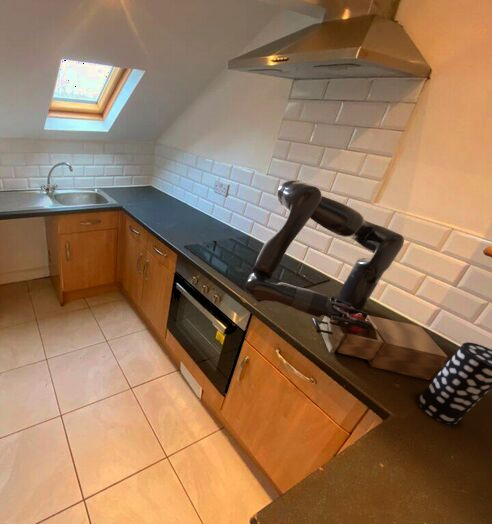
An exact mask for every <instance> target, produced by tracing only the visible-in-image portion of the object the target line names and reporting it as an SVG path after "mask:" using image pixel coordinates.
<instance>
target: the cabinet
mask: <svg viewBox="0 0 492 524" xmlns="http://www.w3.org/2000/svg"><path fill="white" fill-rule="evenodd" d="M365 320H369V321H370V323H371V324H372V326H373V327H374V329H375V330H376V332H377V333H378V335H379V336H380V338H381V339H382V341H383V342H384V344H383V346H382V347H381V349H380V350H379V352H378V353H377V355H376V356H375V358H374V360H373V361H372V360H367V362H368V364H369V365H370V366H371V367H372V368H377V369H380V370H384V371H388V372H392V373H398V374H402V375H406V376H410V377H414V378H418V379H422V380H426V381H430V379H431V378H432V377H433V376H434V374H436V372H437V371H438V370H439V369H440V367H442V365H443V364H444V362H445V361H446V360H447V359H448V355H447V354H446V353H445V352H444V350H442V348H440V346H439V345H438V344H437V343H436V342H435V341H434V340H433V338H432V337H431V336H430V335H429V334H428V332H427V331H425V329H424V328H423V327H422V326H420V325H416V324H411V323H406V322H402V321H397V320H392V319H388V318H383V317H378V316H373V315H370V314H368V316H367V318H366V319H365Z"/></svg>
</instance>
